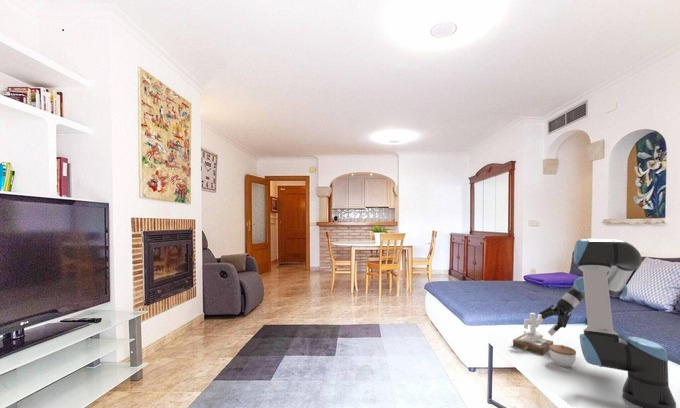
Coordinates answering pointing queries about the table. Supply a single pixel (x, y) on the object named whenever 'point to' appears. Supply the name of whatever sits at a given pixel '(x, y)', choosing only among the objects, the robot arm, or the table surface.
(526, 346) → the wooden box
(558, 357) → the lidded jar
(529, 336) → the figurine
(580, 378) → the table surface
